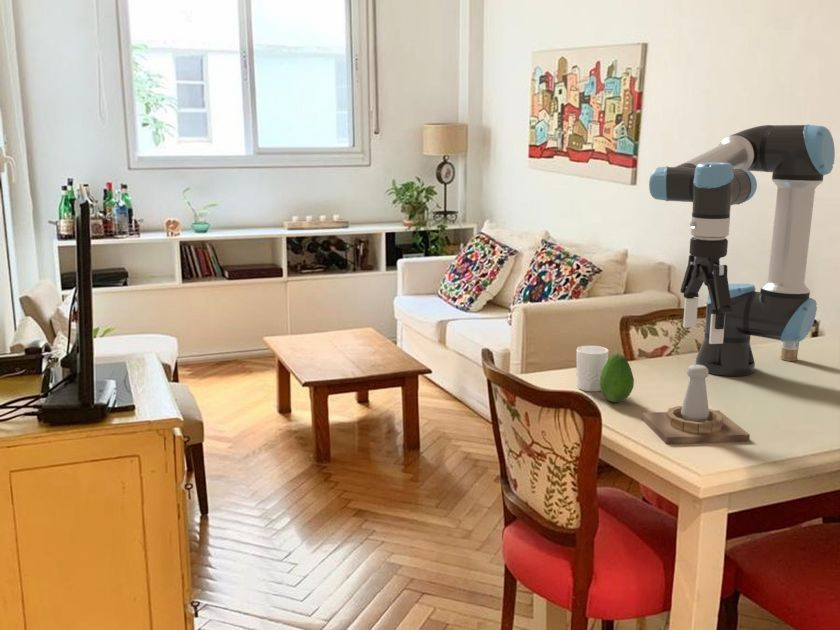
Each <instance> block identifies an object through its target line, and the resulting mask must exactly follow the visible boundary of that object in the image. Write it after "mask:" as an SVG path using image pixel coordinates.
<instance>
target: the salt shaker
mask: <svg viewBox="0 0 840 630" xmlns="http://www.w3.org/2000/svg"><path fill="white" fill-rule="evenodd" d="M686 372H687V373H686V374H687V376H688V377H689V380H688V384H687V388H686V392H685V395H684V399H683V401H682V405H681V406H682V409H681V415H682V417H683V419H684V420H687V421H694V422H705V421H706V420H707V418H708V416H709V409H710V408H709V400H708V392H707V385H706V379H707V378H708V376H709V374H710V373H709V372H708V369H707V367H706V366H703V365H696V364H690V365H689V366H688V368H687V371H686Z"/></svg>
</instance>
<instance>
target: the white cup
mask: <svg viewBox="0 0 840 630" xmlns="http://www.w3.org/2000/svg"><path fill="white" fill-rule="evenodd" d="M609 351H610V350H609V349H608V348H606V347H604V346H600V345H582V346H578V347H577V348H576V377H577V378H576V379H577V381H576V383H577V385H576V387H577V389H579V390H582V391H585V392H602V391H601V387H600V376H601V373H602V371H603V368H604V366H605V365H606V363H607V361H608V359H609Z"/></svg>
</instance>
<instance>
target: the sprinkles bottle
mask: <svg viewBox="0 0 840 630" xmlns="http://www.w3.org/2000/svg"><path fill="white" fill-rule="evenodd" d="M799 345H800V342H788V341H784V342H782V341H781V350H780V351H781V352H780V359H781V360H784V361H786V362H787V361H788V362H795V361H798V360H799V359H798V355H799V354H798V353H799V348H800V346H799Z"/></svg>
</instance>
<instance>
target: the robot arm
mask: <svg viewBox="0 0 840 630" xmlns="http://www.w3.org/2000/svg"><path fill="white" fill-rule="evenodd" d="M835 155H836V154H835V142H834V139H833V136H832V132H831V131H830V130H829V129H828V128H827V127H825V126H823V125H815V124H782V125H781V124H780V125H779V124H777V125H773V124H772V125H771V124H766V125H764V124H763V125H759V126H753V127H750V128H747V129H744V130H741V131H738V132H736V133H733V134H731V135H729V136H727V137H725V138H724V139H722V140H721V141H720V143H719V144H718V146H716V147H713V148H712V149H710V150H709V149H708V151H705V152H704V153H703V152H702V153H701V154H699V155H697V156H695V157H693V158H691V159H689V160H687V161H685V162H683V163H681V164H678V165H676V166H673V167H672V166H667V165H666V166H659V167H655V169H654V170H653V171H652V173H651V174H650V176H649V181H648V186H649V187H648V190H649V193H650V196H651V197H652V198H653V199H655V200H657V201H658V200H659V201H665V202H684V203H692V212H691V221H690V222H689V225H690V234H691V236H693V237H691V238H690V240H689V255H688V261H687V267H686V269H685V270H686V271H685V273H684V277H683V281H682V282H681V287H680V293H681V294H683V298H684V307H683V321H682V322H683V323H682V327H683V328H686V329H687V328H696V327H697V321H698V320H697V319H698V304H699V297H700V295H699V292H700V289H701V288H702V285H705V286H706V287H707V291H708V292H707V293H708V294H707V301H706V302H705V303H706V310H705V325H704V339H703V341H702V343H701V345H700V348H699V350H698V353H697V355H696V357H695V365H703V366H706V367H707V369H708V372H709V373H708V374H712V375H717V376H727V377H742V376H743V377H744V376H749V375H752V374H754V373H755V366H756V362H755V358H754V355H753V350H752V347H751V336H753V337H758V338H765V339H771V340H777V341H781V343H782V342H784V341H788V342H799V343H800V342H802V341H803V340H805V338H807V336H808V335H809V333H810V331H811V329H812V327H813V325H814V322H815V319H816V316H817V311H818V307H817V301H816V299H814V298H813V297H810V295H811V294H810V293H811V290H810V289H809V287H808V285H806V284H805V279H806V274H807V271H806V270H807V265H808V264H807V262H808V255H809V254H808V252H809V246H810V245H809V244H810V238H811V237H810V236H811V228H812V219H813V218H812V217H813V209H814V201H815V193H816V188H817V187H819V186H820V184H822V183H823V182H824V176H826V175H828V174H829V175H830V173H831V172H832V170H833V169H834V166H833V165H834V164H835ZM752 172H760V173H761V172H765V173H772V174H771V181H772V182H773V184H774V185H776V187H777V191H776V199H775V207H774V208H775V209H774V210H775V211H774V220H773V228H772V229H773V230H772V239H771V248H770V257H769V267H768V277H767V281H766V282H765V283H763V284H762V285H761V286H760V291H756V286H755V284H750V283H729V279H728V265H727V264H720V262H721V261H720V259H722V258H724V257H726V256H727V255H728V245H729V240H728V238H727V237H728V236H729V235H730V225H731V224H730V220H731V206H735V205H741V204H743V203H745V202H747V201H749V200H751V199H752V198H753V197H754V195H755V194H756V191H757V188H758V183H757V179H756V177H755V175H754V174H753V173H752Z"/></svg>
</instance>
